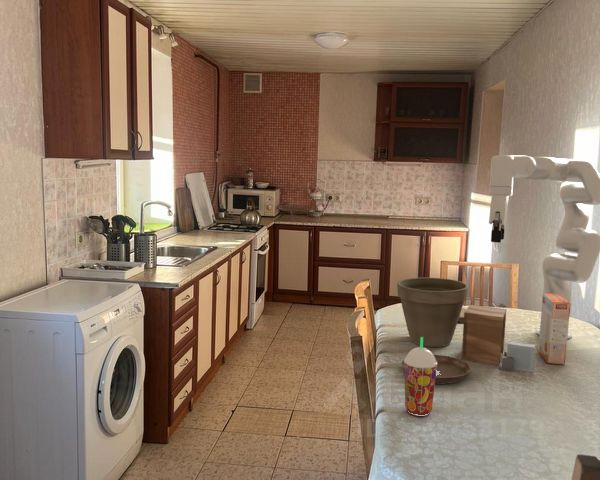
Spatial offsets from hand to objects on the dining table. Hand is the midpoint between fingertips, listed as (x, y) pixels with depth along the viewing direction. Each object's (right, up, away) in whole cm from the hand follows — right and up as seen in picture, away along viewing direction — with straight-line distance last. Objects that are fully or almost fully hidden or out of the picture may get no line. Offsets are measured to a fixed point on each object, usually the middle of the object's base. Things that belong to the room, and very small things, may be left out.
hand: (497, 240), depth 196 cm
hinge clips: (-2, -41, -16) cm, 43 cm away
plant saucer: (-27, -42, -23) cm, 55 cm away
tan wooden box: (-7, -39, -6) cm, 40 cm away
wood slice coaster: (0, -34, +43) cm, 55 cm away
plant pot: (-21, -37, +10) cm, 44 cm away
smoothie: (-38, -45, -51) cm, 78 cm away
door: (+1, -41, -17) cm, 44 cm away
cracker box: (+16, -40, -6) cm, 43 cm away
